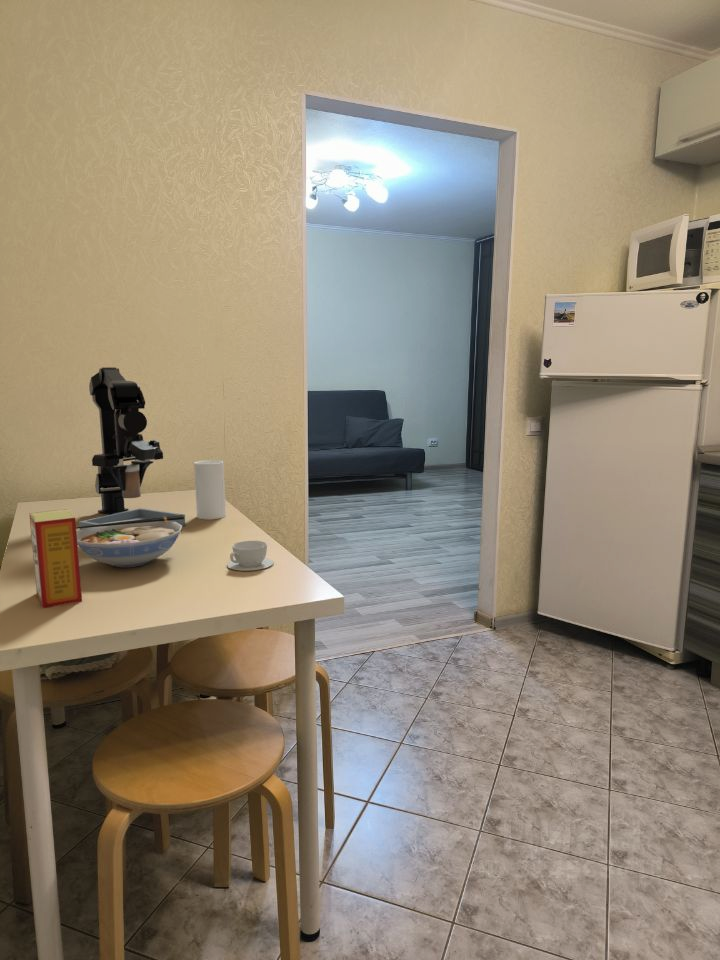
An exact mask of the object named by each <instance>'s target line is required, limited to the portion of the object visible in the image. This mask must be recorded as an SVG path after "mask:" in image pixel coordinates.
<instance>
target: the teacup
mask: <svg viewBox="0 0 720 960" xmlns="http://www.w3.org/2000/svg"><path fill="white" fill-rule="evenodd" d="M231 548H232V552H231V553H230V555H229V559H230V561H229V562H227V564H226V566H227V568H229V569H231V570H234V571H243V572H245V571H247V572H248V571H249V572H250V571H258V570H263V569H266V568H269V567H271V566H273V565H274V560H272V559H270V558H268V557H266V555H267V550H268V544H267V542H265V541H262V540H243V541H238V542H236V543H233V544H232V546H231Z"/></svg>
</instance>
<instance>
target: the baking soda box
mask: <svg viewBox="0 0 720 960" xmlns="http://www.w3.org/2000/svg"><path fill="white" fill-rule="evenodd" d="M28 514H29V526H30V536H31V545H32V556H33V566H34V569H33V570H34V576H35V578H34V579H35V590H36V595H37V597H38V600H39V602H40V605H41V607H42V609H45V608H52V607H56V606H57V607H58V606H63V605H68V604H74V603H79V602H83V598H82V597H83V596H82V586H81V585H82V584H81V571H80V560H79V546H78V545H77V534H76V531H77V529H76V527H77V524H76V523H77V521H76V517H75V516H74V515H73V513H71V512H70V511H69V510H68V509H57V510H48V511H38V512H29V513H28Z"/></svg>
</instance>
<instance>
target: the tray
mask: <svg viewBox="0 0 720 960" xmlns="http://www.w3.org/2000/svg"><path fill="white" fill-rule="evenodd" d="M175 515H183V516H184V519H180V520H169V521H172V522H177V523H178V524H180V525H182V527H184V526H186V515H185V514H183V513H176V512H170V511H164V510H156V509H149V508H142V507H139V508H134V509H131V510H128V511H123V512H119V513H114V514H106V515H104V516H103V515H102V516H97V517H95V518H90V519H85V520H80V521H78V524H79V526H78V527H82V526H90V525H98V524H103V523H108V522H116V521H124V520H141V519H150V518H158V517H167V516H175ZM81 529H84V528H79V530H81Z"/></svg>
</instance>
